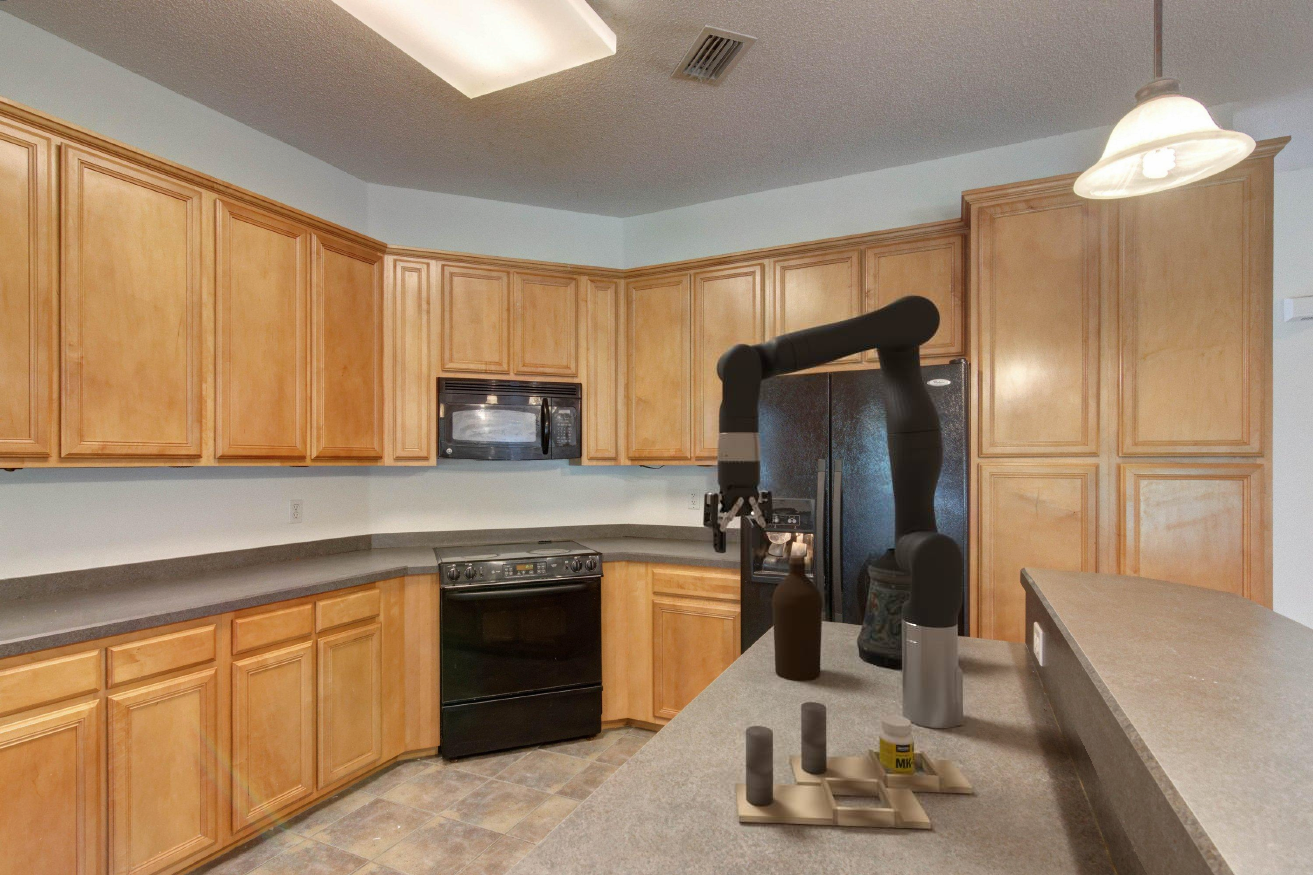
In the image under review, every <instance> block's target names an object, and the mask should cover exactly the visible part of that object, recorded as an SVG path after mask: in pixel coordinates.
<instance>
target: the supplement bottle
mask: <svg viewBox="0 0 1313 875" xmlns="http://www.w3.org/2000/svg"><path fill="white" fill-rule="evenodd" d="M881 720H882V721H881V729H882V730H881V731H879V742H878V743H879V745H878V746H879V749H878V750H879V753H880V756H879V762H880V763H881V765H882V767H883V769H884V770H885V772H886V774H905V775H915V766H914V751H915V738H914V736H913V734H912V722H911V721H910V720H909V719H907V718H905V717H904V716H900V715H894V714H892V715H891V714H889V715H885V716H882V719H881Z"/></svg>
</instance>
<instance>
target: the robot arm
mask: <svg viewBox="0 0 1313 875" xmlns="http://www.w3.org/2000/svg"><path fill="white" fill-rule="evenodd" d="M940 324H941V315H940V311H939V308H938V307H937V306H936V304H935V303H934V302H933V301H932V300H930V299H929V298H927V297H924V296H921V295H906V296H902V297H900V298H897V299H895V300H894V301H892V302H890V303H889V304H887V305H885V306H883V307H881V308H878V309H876V310H873V311H870V312H867V313H865V314H862V315H858V316H854V317H852V318H848V319H845V320H841V321H836V322H832V323H826V324H822V325H818V326H814V327H810V328H804V329H799V330H796V331H792V332H788V333H784V334H781V335H778V336H775V337H773V338H771V339H769V340H767V341H765V342H760V343H757V344H752V345H749V344H746V343H738V344H734V345H732V346H730V347H729V348H727V349H726V350H725V351H724V352H723V353H722V354H721V356H720V357H719V358H718V360H717V363H716V374H717V377H718V379H719V381H721V382H722V384H721V386H722V388H721V392H722V395H721V396H722V399H721V403H720V406H719V411H718V440H717V485H718V486H719V491H718V493H717V492H705V493H704V499H703V500H704V501H703V521H702V526H703V527H705V528H708V529H710V530H712V537H713V538H712V543H713V544H712V547H713V549H714V551H715V553H717V554H725V553H726V552H727V531H726V529H727V527H728V525H729V523H730V522H732V521H733V520H734V518H739V517H745V518H747V519H748V521H749V522H750V524H751V526H752V527H750V528H751V529H750V530H751V536H750V539H751V540H750V541H751V544H750V546H751V548H752V549H753V550H754V549H755V550H761V549H763V547H764V544H765V540H764V539H765V536H764V535H765V532H764V531H765V527H766V526H767V525H771V524H773V522H774V515H773V514H774V513H773V511H774V510H773V492H772V491H771V490H765V489H760V490H759V489H758V486H760V484H761V442H760V433H759V431H760V430H759V429H760V428H759V427H760V425H759V424H760V423H759V422H760V420H759V416H760V415H759V400H760V395H761V394H760V393H761V385H762V381H765V380H768V379H771V378H774V377H776V376H782V375H788V374H792V373H793V374H795V373H797V372H802V371H805V370H810V369H813V368H816V367H819V366H823V365H826V364H829V363H832V362H835V361H838V360H841V359H843V358H847V357H850V356H853V355H857V354H859V353H864V352H866V351H871V350H876V352H877V353H876V354H877V359H878V363H879V368H880V371H881V373H880V374H881V378H882V389H883V402H884V403H883V404H884V414H885V425H886V426H885V427H886V428H885V429H886V439H887V440H886V441H887V450H888V458H889V465H890V476H891V484H892V493H893V494H892V495H893V500H894V548H895V557H896V561H897V563H898V565H899V567H900V569H901V570H902V571H903V572H904V573H905V574H907V575H908V576H910V577H911V589H910V598H909V600H908V601H905V602H904V603H903V605H902V670H901V672H902V674H901V676H902V677H901V678H902V679H901V681H902V682H901V684H902V685H901V686H902V688H901V689H902V690H901V691H902V693H901V694H902V702H901V703H902V704H901V705H902V717H904V718H907V719H909V720H910V721H911V723H913V724H916V725H918V726H923V727H925V728H926V727H927V728H931V729H933V728H934V729H948V728H954V727H956V726H964V686H963V685H964V680H963V675H964V674H963V670H962V668H961V667H959V642H958V641H959V637H958V633H959V632H958V631H959V630H958V629H959V628H958V623H959V620H958V616H959V613H960V611H961V608H962V605H963V593H964V592H963V591H964V560H963V553H962V550H961V548H960V546H959V544H958V543H957V542H956V541H955V540H954V539H953V538H952V537H950V536H949V535H945V534H943V533H940V532H939V531H938V527H937V526H938V525H937V520H936V513H935V495H936V490H937V485H938V484H939V479H940V475H941V471H942V466H943V462H944V446H943V445H944V444H943V438H942V437H943V434H942V427H941V421H940V417H939V414H938V410H937V409H936V406H935V403H934V402H933V400H932V397H931V396H930V394H929V392H928V390H927V387H926V385H925V382H924V379H923V376H922V370H921V369H922V368H921V359H920V358H921V357H920V352H921V351H920V346H923V345H924V344H926V343H927V342H929V341H930V340H931V339H933V337H934V336H935V335H936V333H937V332H938V330H939V327H940ZM757 503H758V504H757Z"/></svg>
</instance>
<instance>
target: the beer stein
mask: <svg viewBox="0 0 1313 875" xmlns="http://www.w3.org/2000/svg"><path fill="white" fill-rule="evenodd" d="M867 571H868V575H869V577H870V583H869V589H868V596H867V601H866V609H865V614H864V619H863V623H862V626H861V630H860V631H859V634H858V636H857V639H856V644H857V650H858V657H859V658H860V659H861V661H863V663H867V664H870V665H872V664H873V665H872V666H875V665H876V667H879V668H883V669H889V668H890V670H895V671H902V605H903V603H904V602H905V601H908V600H909V598H910V589H911V577H910V576H908V575H907V574H905V573H904V572H903V571H902V570H901V569H900V567H899V565H898V563H897V561H896V557H895V547H892V548H887V549H886V551H885V553H884V554H883V555H881V556H880V557H878V558H877V559H875V560H874V561H872V562H871V563H870V565H869V566H868V568H867Z"/></svg>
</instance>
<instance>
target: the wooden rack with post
mask: <svg viewBox="0 0 1313 875" xmlns="http://www.w3.org/2000/svg"><path fill="white" fill-rule="evenodd" d="M800 718H801V719H800V726H801V727H800V729H801V730H800V731H801V732H800V734H801V735H800V736H801V737H800V740H801V741H800V744H801V746H800V748H801V749H800V750H801V751H800V752H801V755H799V754H798V755H795V754H794V755H793V754H789V762H790V766H791V770H792V774H793V777H794V780H795V785H802V786H821V777H823V778H854V779H881V780H882V782H883V783H884V785H885V787H886V788H892V789H910V790H911V791H912V792H917V793H918V792H922V793H953V794H973V786H972V785H971V784H970V783H969V781H968V780H967V779H966V778H965V777H964V775H963V774H962V773H961V771H960V770H959V769H958V768H957V766H956V765H955V764H954V763H953V762H952V760H951V759H930V758H929V756H928V755H927V754H926V753H925V750H924V751H923V750H914V767H920V768H922V770H923V772H924V773H925V774H914V775H905V774H886V772H885V770H884V769H883V767H882V765H881V763H880V762H879V756H880V753H879V749H868V757H865V756H863V757H862V756H861V757H859V756H857V757H855V756H832V755H831V756H828V755H827V754H828V753H827V706H826V705H824V704H823V703H820V702H815V701H808V702H804V703H802V704H801V706H800Z"/></svg>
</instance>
